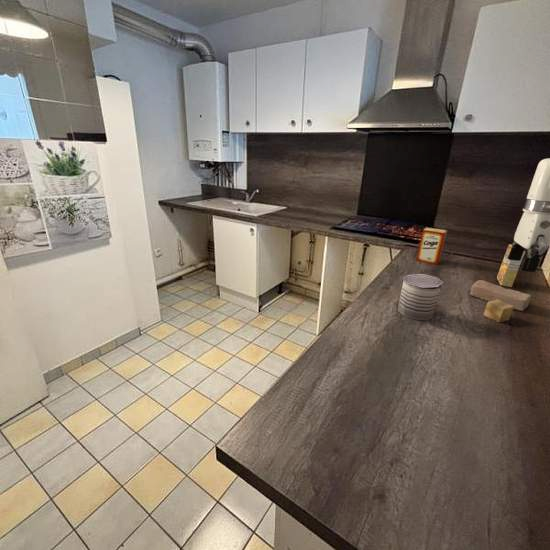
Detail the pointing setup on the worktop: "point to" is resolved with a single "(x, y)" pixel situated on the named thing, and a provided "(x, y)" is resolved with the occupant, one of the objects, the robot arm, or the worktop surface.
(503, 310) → the beech block
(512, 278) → the candy box
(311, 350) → the worktop surface
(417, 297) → the can
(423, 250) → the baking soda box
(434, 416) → the worktop surface
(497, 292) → the brick
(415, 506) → the worktop surface
